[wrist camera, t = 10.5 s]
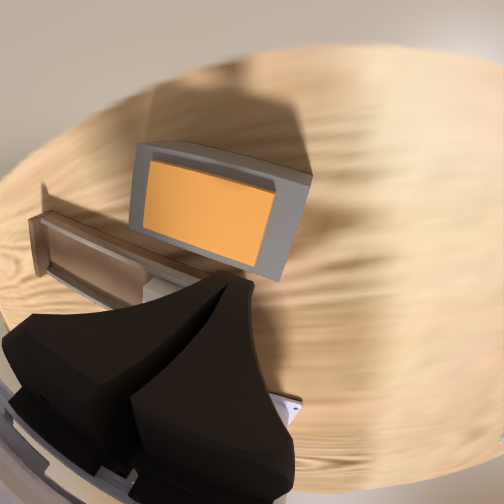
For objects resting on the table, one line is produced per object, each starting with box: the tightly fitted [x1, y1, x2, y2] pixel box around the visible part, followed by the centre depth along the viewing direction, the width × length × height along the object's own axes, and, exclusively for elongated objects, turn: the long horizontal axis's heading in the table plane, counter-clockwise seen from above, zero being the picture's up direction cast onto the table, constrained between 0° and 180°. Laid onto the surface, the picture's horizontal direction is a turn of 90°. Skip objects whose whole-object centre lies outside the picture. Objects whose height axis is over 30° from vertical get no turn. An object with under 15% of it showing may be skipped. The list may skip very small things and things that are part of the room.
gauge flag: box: [143, 160, 276, 267], centre depth 14 cm, size 4×7×1 cm, turn 76°
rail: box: [28, 210, 211, 310], centre depth 23 cm, size 7×24×3 cm, turn 75°
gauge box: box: [128, 140, 313, 282], centre depth 17 cm, size 6×10×5 cm, turn 75°
